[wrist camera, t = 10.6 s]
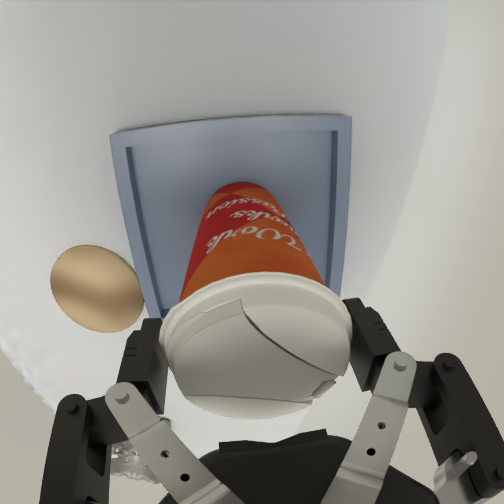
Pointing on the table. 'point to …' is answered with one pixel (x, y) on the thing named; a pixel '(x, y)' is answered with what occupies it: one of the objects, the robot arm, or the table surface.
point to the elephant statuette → (131, 462)
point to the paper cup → (253, 314)
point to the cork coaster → (97, 289)
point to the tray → (226, 172)
